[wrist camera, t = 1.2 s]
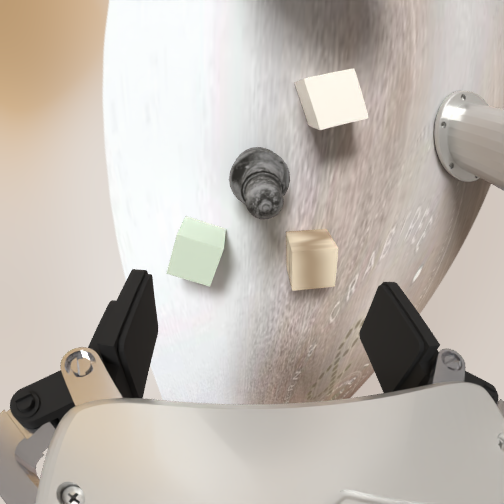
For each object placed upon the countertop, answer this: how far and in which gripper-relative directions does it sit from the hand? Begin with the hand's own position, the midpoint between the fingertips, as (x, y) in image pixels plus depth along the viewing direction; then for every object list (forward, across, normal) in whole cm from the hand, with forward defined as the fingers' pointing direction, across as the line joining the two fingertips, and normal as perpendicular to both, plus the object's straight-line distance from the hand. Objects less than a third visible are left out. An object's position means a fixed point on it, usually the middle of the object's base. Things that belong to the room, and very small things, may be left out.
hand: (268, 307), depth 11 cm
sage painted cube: (+22, +5, +8) cm, 24 cm away
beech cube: (+22, -8, +8) cm, 25 cm away
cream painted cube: (+22, -7, -10) cm, 25 cm away
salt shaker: (+22, -1, 0) cm, 22 cm away
